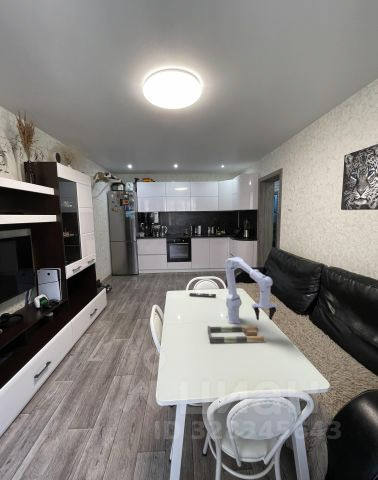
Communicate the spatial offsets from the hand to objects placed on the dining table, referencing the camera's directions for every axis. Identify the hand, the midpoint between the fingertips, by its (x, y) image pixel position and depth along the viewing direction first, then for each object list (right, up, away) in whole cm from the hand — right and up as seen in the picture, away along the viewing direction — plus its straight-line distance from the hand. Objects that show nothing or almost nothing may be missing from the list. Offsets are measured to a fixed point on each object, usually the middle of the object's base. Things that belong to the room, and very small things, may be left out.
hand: (264, 319), depth 127 cm
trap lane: (-17, -11, +1) cm, 20 cm away
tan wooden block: (-8, -11, +1) cm, 13 cm away
